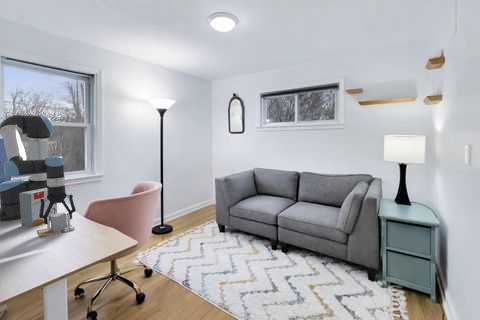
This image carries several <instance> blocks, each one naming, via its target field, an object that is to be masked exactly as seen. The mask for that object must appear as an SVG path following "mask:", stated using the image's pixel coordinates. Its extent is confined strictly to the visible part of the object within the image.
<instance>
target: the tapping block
mask: <svg viewBox="0 0 480 320" xmlns="http://www.w3.org/2000/svg"><path fill="white" fill-rule="evenodd" d="M50 216H51V221H50V228H51V230H52V231H53V232H57V231H59V232H60V231H62V230H64V228H67V224H68V222H67V213H65V212H64V211H63V212H59V213H58V212H57V214H51V215H50Z"/></svg>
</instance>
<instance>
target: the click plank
mask: <svg viewBox="0 0 480 320" xmlns="http://www.w3.org/2000/svg"><path fill="white" fill-rule="evenodd" d="M36 231H37V234H38V236H39V238H40V239H42V238H45V237H50V236H54V235H58V234H61V232H60V231H57V232H53V231H52V230H51V227H50V230H49V231H48V229H47V228H41V229H38V230H36Z"/></svg>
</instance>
